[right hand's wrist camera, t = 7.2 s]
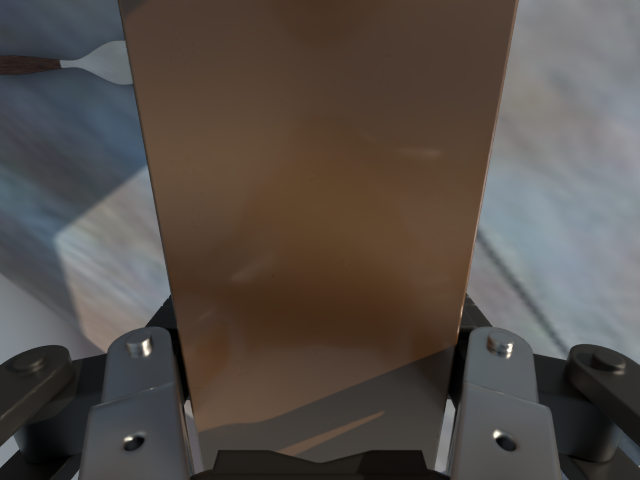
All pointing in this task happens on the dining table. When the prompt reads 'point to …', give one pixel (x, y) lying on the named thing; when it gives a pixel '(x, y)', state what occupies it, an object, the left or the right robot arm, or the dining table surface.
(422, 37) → the box
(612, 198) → the dining table surface
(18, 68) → the fork
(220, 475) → the right robot arm
